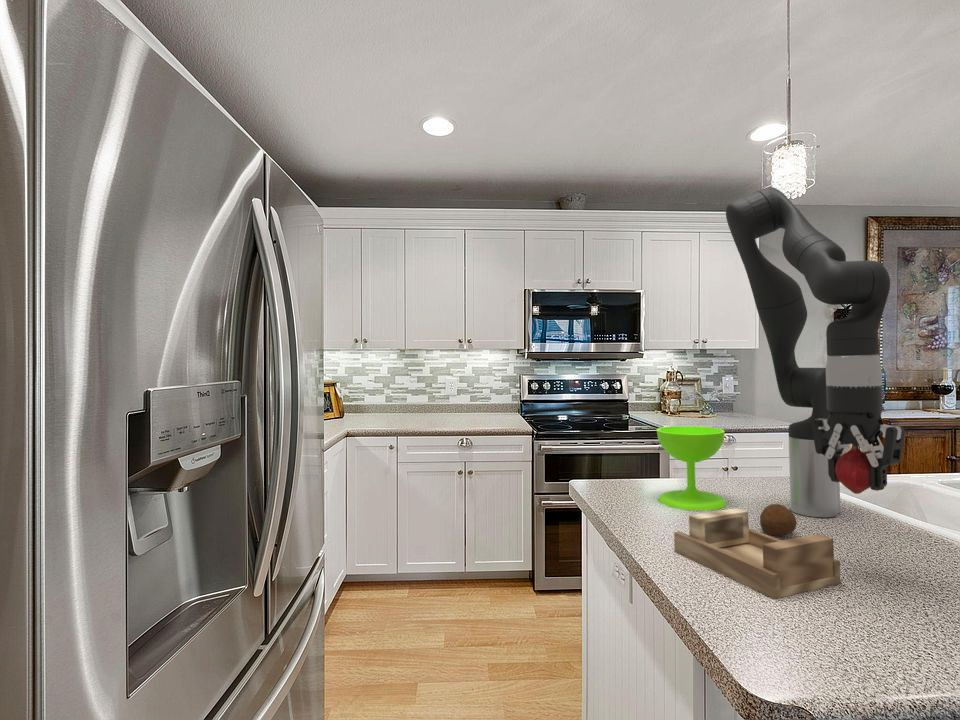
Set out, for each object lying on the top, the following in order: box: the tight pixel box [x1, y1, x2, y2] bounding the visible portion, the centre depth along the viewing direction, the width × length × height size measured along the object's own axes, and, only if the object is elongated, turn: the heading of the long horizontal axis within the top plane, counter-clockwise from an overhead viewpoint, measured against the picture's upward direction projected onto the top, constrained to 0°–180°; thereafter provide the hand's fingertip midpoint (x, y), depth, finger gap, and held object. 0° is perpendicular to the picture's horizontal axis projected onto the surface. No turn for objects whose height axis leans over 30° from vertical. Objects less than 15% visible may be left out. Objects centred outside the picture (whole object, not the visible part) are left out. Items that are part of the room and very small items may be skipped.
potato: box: [759, 503, 798, 538], centre depth 109 cm, size 7×10×6 cm
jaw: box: [688, 507, 750, 548], centre depth 100 cm, size 12×2×6 cm, turn 110°
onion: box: [835, 444, 872, 495], centre depth 88 cm, size 6×6×8 cm
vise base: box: [673, 528, 841, 600], centre depth 93 cm, size 14×22×7 cm, turn 20°
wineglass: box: [656, 425, 727, 511], centre depth 135 cm, size 16×16×18 cm
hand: (856, 484), depth 88 cm, fingers closed on onion, 6 cm apart
